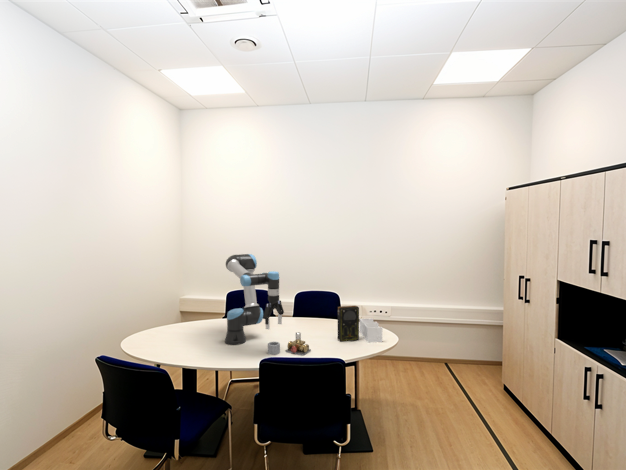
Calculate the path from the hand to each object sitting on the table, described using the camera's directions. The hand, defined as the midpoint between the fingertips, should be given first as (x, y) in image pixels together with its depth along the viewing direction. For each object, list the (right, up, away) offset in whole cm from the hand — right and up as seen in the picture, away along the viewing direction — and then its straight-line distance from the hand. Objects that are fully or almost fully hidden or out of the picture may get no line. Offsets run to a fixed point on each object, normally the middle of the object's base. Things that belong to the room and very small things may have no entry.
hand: (273, 326), depth 232 cm
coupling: (0, -18, +1) cm, 18 cm away
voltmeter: (+52, -17, +27) cm, 61 cm away
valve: (+16, -17, +3) cm, 24 cm away
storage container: (+70, -17, +34) cm, 80 cm away
